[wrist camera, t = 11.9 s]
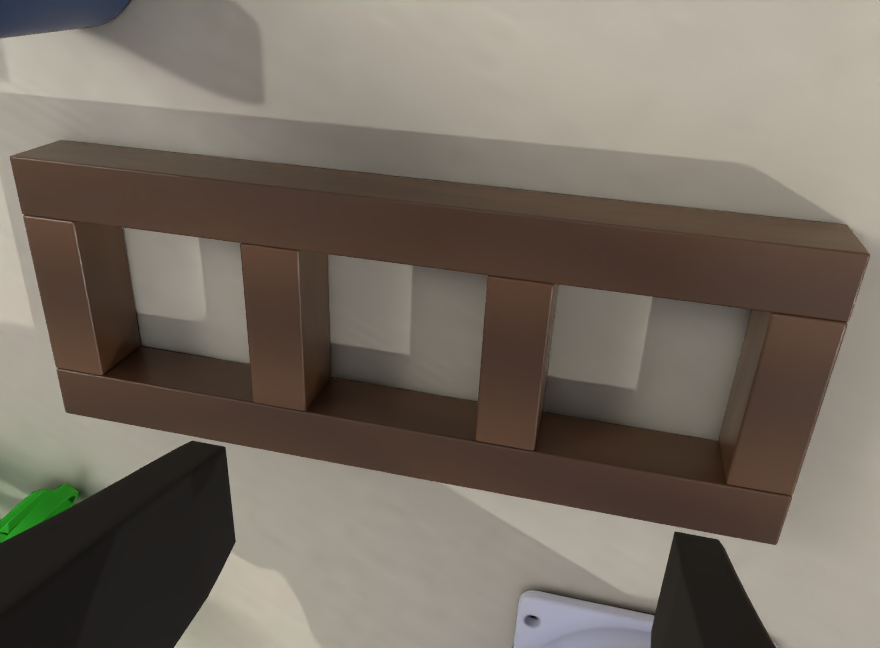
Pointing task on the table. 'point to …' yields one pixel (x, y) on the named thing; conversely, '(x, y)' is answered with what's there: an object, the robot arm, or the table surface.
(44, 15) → the peg
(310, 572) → the table surface
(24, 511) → the chandelier
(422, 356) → the table surface
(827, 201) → the table surface
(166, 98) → the table surface
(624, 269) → the peg board
